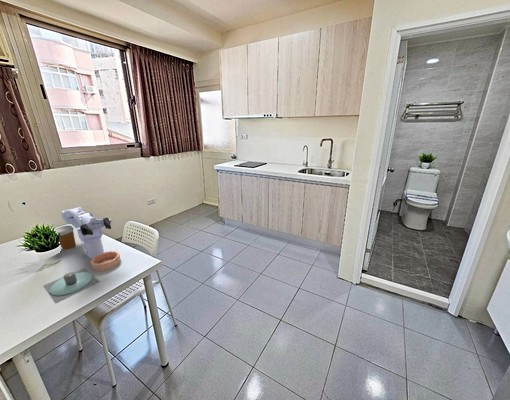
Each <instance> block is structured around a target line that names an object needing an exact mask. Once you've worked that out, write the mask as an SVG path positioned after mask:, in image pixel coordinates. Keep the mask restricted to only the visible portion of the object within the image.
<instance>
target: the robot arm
mask: <svg viewBox="0 0 510 400" xmlns="http://www.w3.org/2000/svg"><path fill="white" fill-rule="evenodd" d="M60 214H61V218H62V220H63V221H64V223H66V225H67V224H68V225H71V226H72V227H73V228H74V229H76V231H77V236H78V238H79V240H80V241H81V242H82V243H83V245H84V249H85V252H84V255H86V256H87V257H89V259H92V258H94V257H95V256H97V255H99V254H101V253H104V252H108V251H106V249H104V245H103V242H102V237H103V235H104V231H103V228H104V227H105V230H106V229H107V230H111V229H112V225H111V224H113V221H112V219H111V218H109V217H104V218H101V219H97V218H96V217H94V216H93V214H92V213H91V212H89V211H88V212H85V211H84V209H83V208H82V207H81V206H78V207H75V208H71V209H64V210H62V211H60Z"/></svg>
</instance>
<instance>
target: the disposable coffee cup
mask: <svg viewBox="0 0 510 400" xmlns="http://www.w3.org/2000/svg"><path fill="white" fill-rule="evenodd" d="M74 229H75V227H74V226H73V225H63V226H60V227H57V228H55V229H54V230H55V231H56V232H57V233H60V237H59V242H60V244H59V245H60V248H61V249H62V250H64V251H65V250H70V249H73V248H75V247H77V243H76V238H75V233H74V232H75V231H74ZM59 242H58V243H59Z"/></svg>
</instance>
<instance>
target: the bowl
mask: <svg viewBox="0 0 510 400" xmlns="http://www.w3.org/2000/svg"><path fill="white" fill-rule="evenodd" d="M119 263H121V256H120V253H119V252H118V251H116V250H109V251H107V252H104V253H101V254H99V255H97V256H95V257H94V258H91V260H90V265H91V268H92V269H93V270H94V271H96V272H102V271H107V270H110V269H112V268H114V267H117V265H119Z"/></svg>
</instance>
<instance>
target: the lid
mask: <svg viewBox="0 0 510 400" xmlns="http://www.w3.org/2000/svg"><path fill="white" fill-rule="evenodd" d="M74 272H75V271H74ZM74 272H68V273H66V274H65V275H64V276H62V277H63V278H62V277H61V278H62V279H60V278H59V279H60V280H58V279H57V280H58V281H57V282H55V283H54V284H53V285H52V286H51V288H50V293H51V294H52V295H55V296H62V295H67V294H70V293H73V292H76V291H78V290H80V289H82V288H83V287H85V286H86V285H87V284H89V282H90V281H91V280H92V275H93V274H92V273H91V272H90V273H91V274H92V275H91V274H90V273H87V272H80V273H74Z"/></svg>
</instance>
